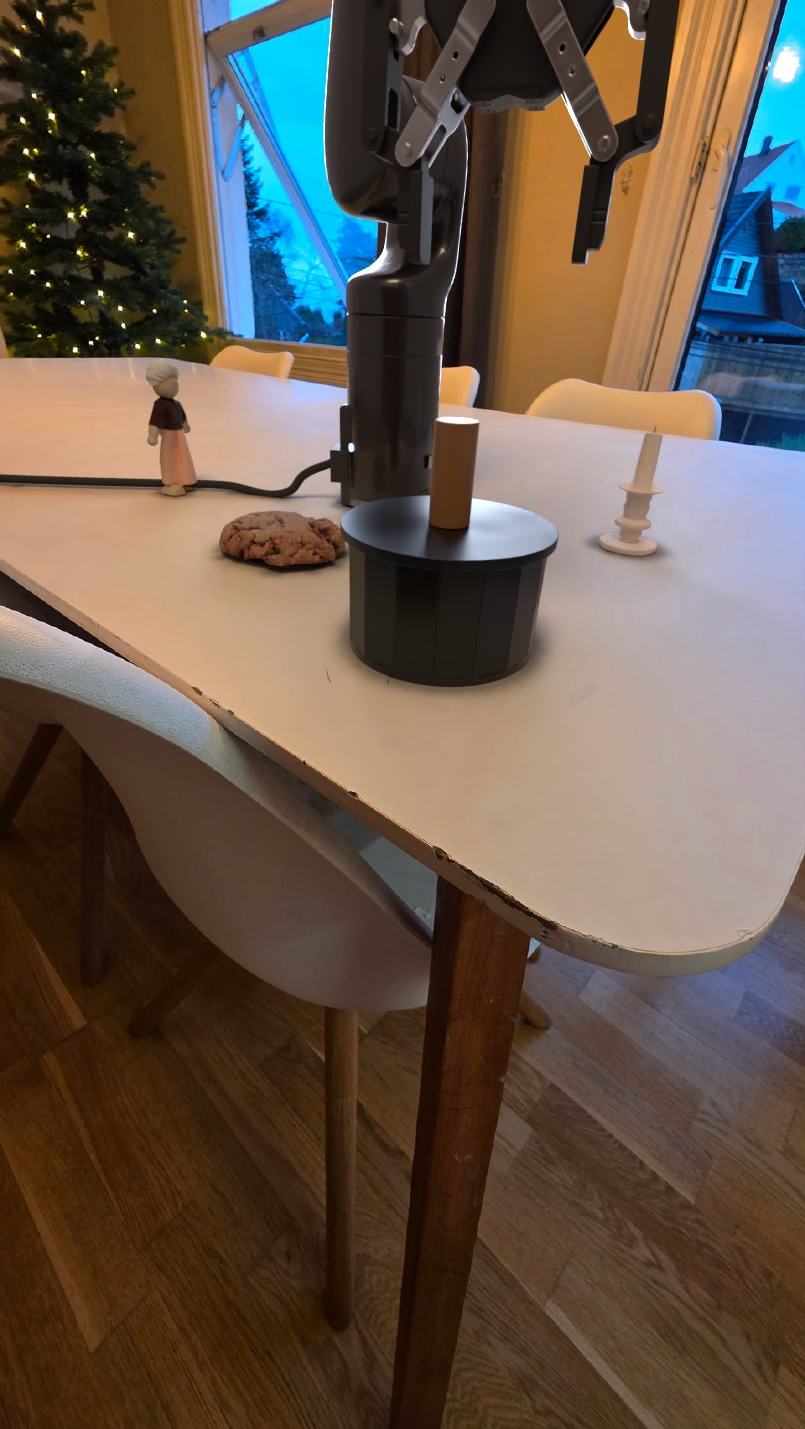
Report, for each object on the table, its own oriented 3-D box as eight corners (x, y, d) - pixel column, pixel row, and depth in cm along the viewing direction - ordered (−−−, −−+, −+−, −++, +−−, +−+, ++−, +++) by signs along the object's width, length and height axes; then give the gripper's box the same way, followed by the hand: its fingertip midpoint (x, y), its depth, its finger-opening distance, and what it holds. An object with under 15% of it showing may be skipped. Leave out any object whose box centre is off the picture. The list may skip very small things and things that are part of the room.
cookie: (227, 534, 57) (224, 500, 55) (344, 535, 58) (343, 502, 57) (211, 573, 49) (205, 535, 47) (347, 573, 50) (346, 536, 48)
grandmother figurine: (187, 499, 66) (168, 363, 59) (151, 497, 66) (127, 361, 59) (207, 482, 73) (192, 357, 66) (174, 480, 73) (155, 355, 66)
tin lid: (303, 561, 34) (296, 425, 30) (383, 505, 44) (386, 398, 40) (538, 599, 30) (563, 452, 27) (566, 528, 40) (586, 415, 37)
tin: (320, 664, 37) (315, 549, 33) (385, 595, 47) (388, 498, 43) (512, 702, 34) (531, 582, 31) (541, 621, 44) (559, 520, 40)
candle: (606, 534, 62) (632, 419, 56) (661, 545, 59) (693, 426, 54) (591, 548, 58) (617, 426, 52) (649, 560, 56) (682, 433, 50)
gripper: (724, -210, 26) (635, 271, 34) (395, -160, 29) (389, 268, 38) (755, -377, 20) (637, 259, 28) (334, -289, 23) (344, 257, 32)
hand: (496, 264), depth 33 cm, fingers open, 8 cm apart
